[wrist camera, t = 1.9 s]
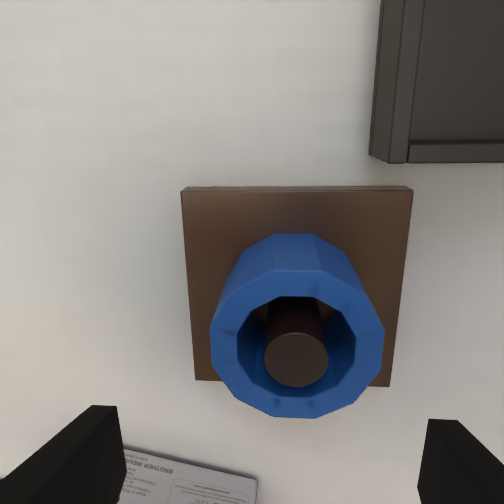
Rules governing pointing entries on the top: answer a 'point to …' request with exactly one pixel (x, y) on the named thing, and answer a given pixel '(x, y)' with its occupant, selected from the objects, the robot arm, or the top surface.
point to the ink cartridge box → (181, 483)
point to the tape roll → (335, 331)
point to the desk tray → (439, 82)
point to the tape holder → (292, 307)
